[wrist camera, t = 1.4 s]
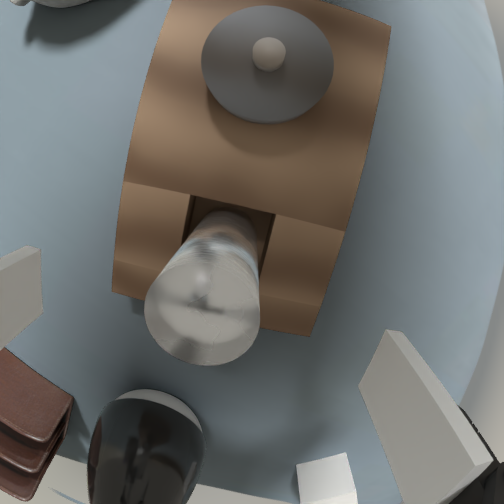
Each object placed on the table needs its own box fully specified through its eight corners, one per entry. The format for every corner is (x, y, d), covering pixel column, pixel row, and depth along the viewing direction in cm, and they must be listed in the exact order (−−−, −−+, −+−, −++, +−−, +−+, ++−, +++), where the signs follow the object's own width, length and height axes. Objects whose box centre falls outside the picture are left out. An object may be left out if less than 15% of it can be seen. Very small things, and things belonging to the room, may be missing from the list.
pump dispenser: (190, 452, 29) (170, 567, 14) (104, 413, 28) (54, 522, 13) (230, 402, 26) (218, 551, 12) (126, 354, 25) (54, 491, 10)
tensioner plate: (189, -3, 16) (170, -46, 10) (375, 40, 17) (411, 9, 11) (126, 275, 23) (91, 312, 17) (303, 316, 24) (317, 364, 18)
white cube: (295, 463, 30) (300, 504, 24) (345, 451, 29) (356, 490, 24) (304, 484, 31) (309, 520, 26) (349, 473, 31) (358, 508, 25)
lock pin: (204, 200, 21) (150, 250, 10) (262, 214, 21) (273, 278, 10) (193, 256, 22) (140, 350, 11) (249, 269, 22) (245, 375, 11)
